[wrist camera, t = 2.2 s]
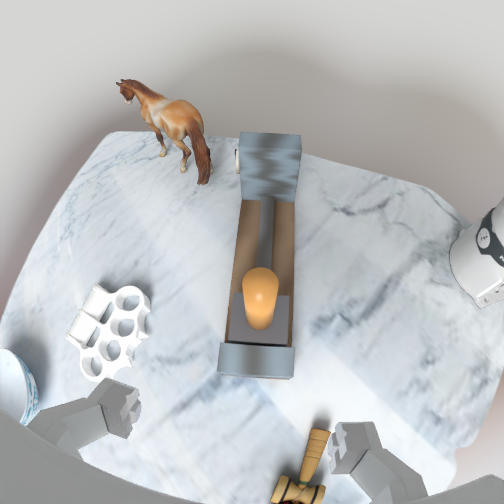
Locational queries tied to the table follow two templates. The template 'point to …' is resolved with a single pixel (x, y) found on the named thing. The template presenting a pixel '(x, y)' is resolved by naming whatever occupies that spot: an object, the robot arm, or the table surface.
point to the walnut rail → (278, 253)
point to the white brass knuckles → (108, 329)
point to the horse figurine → (172, 124)
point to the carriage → (259, 311)
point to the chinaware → (17, 387)
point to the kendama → (304, 475)
